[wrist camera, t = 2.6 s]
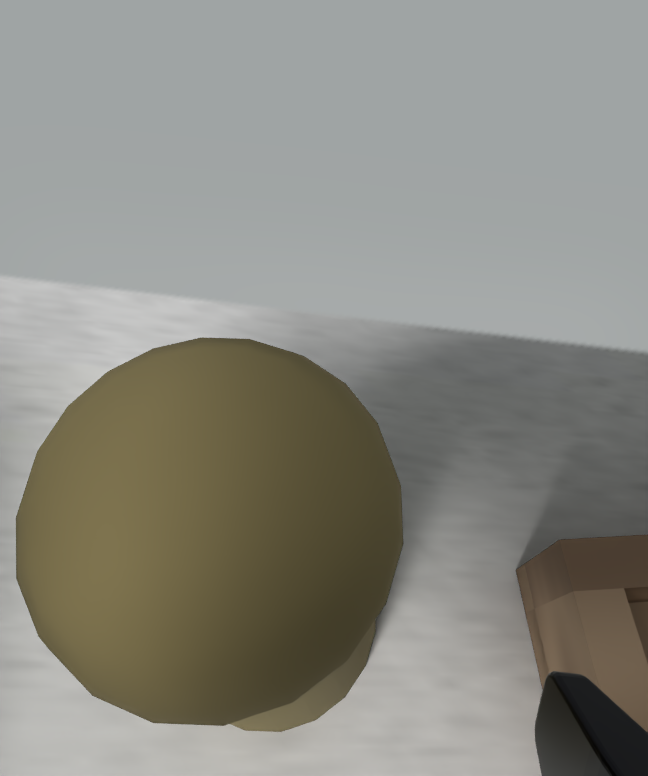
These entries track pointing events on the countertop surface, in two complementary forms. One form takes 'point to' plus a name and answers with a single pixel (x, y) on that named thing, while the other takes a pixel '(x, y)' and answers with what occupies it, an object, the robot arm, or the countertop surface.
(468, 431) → the countertop surface
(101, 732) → the countertop surface
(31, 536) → the cork
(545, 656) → the tray
